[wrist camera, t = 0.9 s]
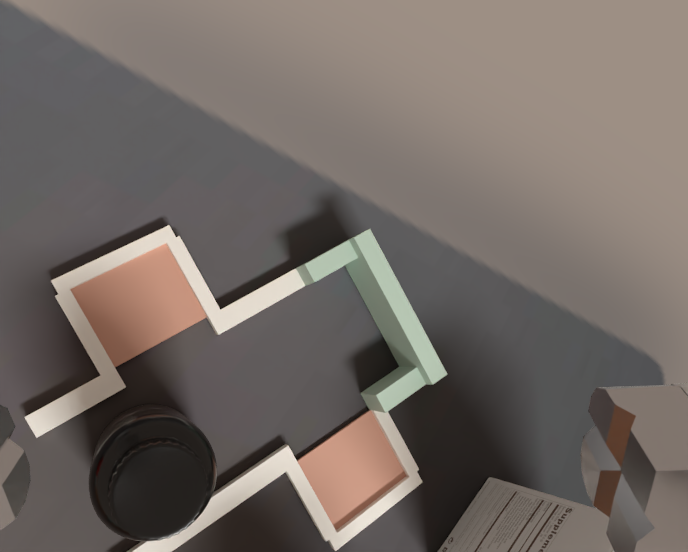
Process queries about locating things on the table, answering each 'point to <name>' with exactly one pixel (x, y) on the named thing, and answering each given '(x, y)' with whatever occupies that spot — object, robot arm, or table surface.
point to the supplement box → (527, 523)
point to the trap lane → (198, 303)
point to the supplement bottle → (151, 473)
